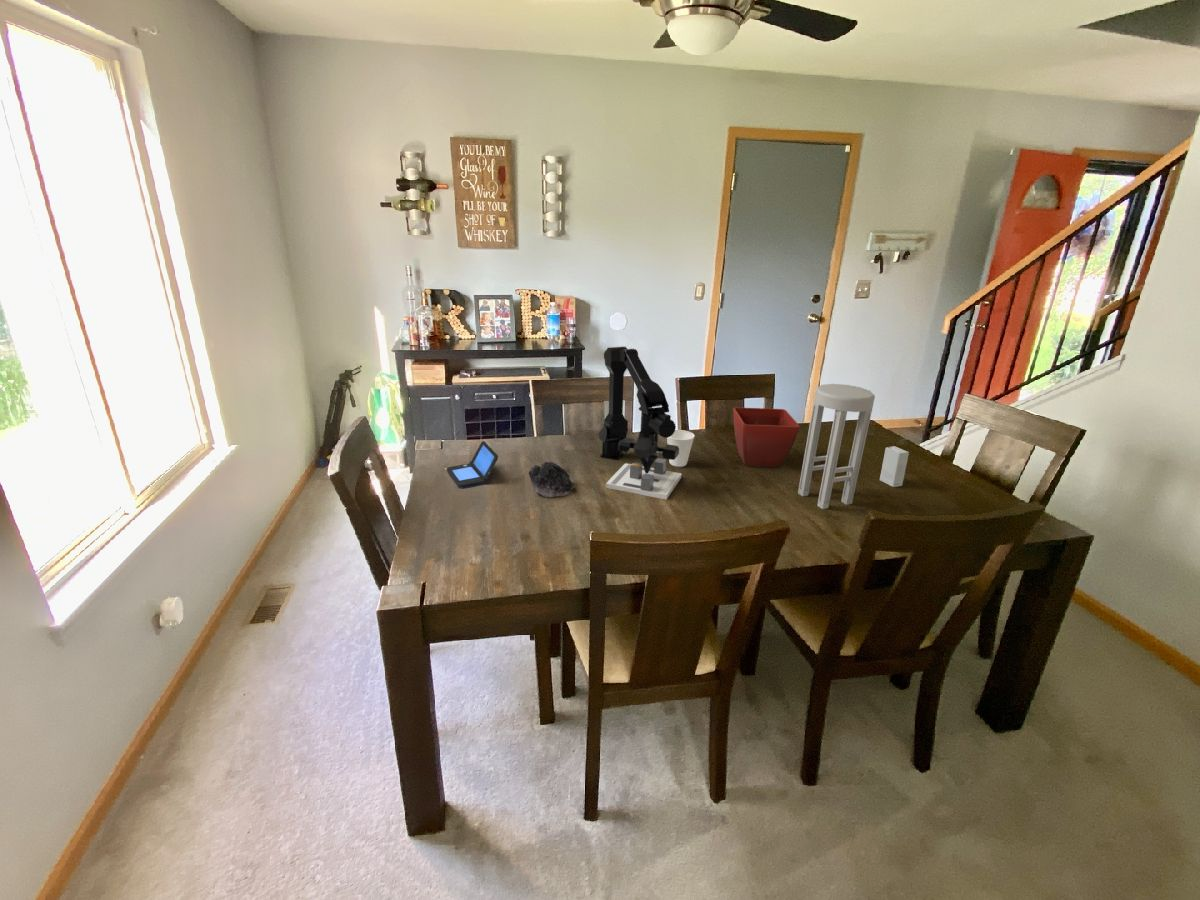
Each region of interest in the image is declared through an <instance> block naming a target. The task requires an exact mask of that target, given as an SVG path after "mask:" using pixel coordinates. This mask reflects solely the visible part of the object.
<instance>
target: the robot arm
mask: <svg viewBox="0 0 1200 900" xmlns="http://www.w3.org/2000/svg"><path fill="white" fill-rule="evenodd" d="M603 359H604V366H605V367H606V369H607V370H608V372H609V373H608V374H609V378H608V379H609V380H608V381H609V383H608V385H609V386H608V413H607V415H606V416H605V418H604V420H603V427H602V428H601V429H600V430H599V431H598V440H600V442H602V444H601V445H602V446H601V447H602V448H601V449H602V452H601V454H600V455H599V456H600V457H601V458H607V459H612V460H618V459H620V457H621V456H622V455H623V452H626V453H627V452H629V451H630V450H631V449H633V453H634V456H635V457H636V458H637V457H638V458H639V459H640V462H641V464H643V465H642V466H643V467H644V470H645V473H649V471H650V468H652V466H653V464H654V463H655V461H656V460H657V458H659V457H660V456H661V457H663V459H666V460H669V459H671V460H674V459H675V458H676V457H677V456H678V454H679V448H678V446H675V445H668V443H667V444H666V445H665V446H663V447H662V446H659V443H660V441H659V436H660V437H661V438H664V439H667V438H668V437H670V436H672V435H673V433H674V432H675V430H676V427H677V426H676V424H675V421H674V420H672V419H671V417H672V416H671V415H670V414H667V413H669V412H670V409H669V402H668V401H667V398H666V394H665V392H664V390H663V389H662V387H661V386H660V384H658V383H657V382H655V381H654V380H652V379H651V376H650V375H649V374H648V372H647V370H646V367H645V366H644V363H643V362H642V360H641V358H640V357H639V352H638V350H637V349H636V348H627V347H626V346H614V347H613V346H611V347H607V348H606V349H605V350H604V352H603ZM627 370H628V372H629V375H630V376H631V379H632V380H633V382H634V384H635V386H636V389H637V392H636V397H637V400H638V404H639V405H640V406H639V407H638V410H639V411H640V412H641V413H640V414H641V415H640V417H641V418H640V431H639V433H638V437H637V439H635V438H631V437H627V435H628V432H629V428H628V427H629V426H628V425H629V421H628V420H627V419H626V418H625V416H624V414H623V409H624V408H623V407H624V383H625V382H624V379H625V378H624V377H625V372H626V371H627Z"/></svg>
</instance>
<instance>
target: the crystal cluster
mask: <svg viewBox="0 0 1200 900" xmlns="http://www.w3.org/2000/svg"><path fill="white" fill-rule="evenodd" d="M528 476H529V478H530V479H529V480H530V483H531V486H532V488H533V490H535V492H536V493H537V494H539V495H541V496H543V497H547V498H554V497H562V496H567V495H569V494H570V492H571V491H572V489H573V482H572V481H571V479H570V474H568V471H566V469H564V468H563V467H561V466H560V465H558V464H557V463H555V462H553V461H543V462H542V464H541V466H540V465H536V464H535V465H533V466H532V467H531V468H530V469H529V471H528Z"/></svg>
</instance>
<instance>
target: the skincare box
mask: <svg viewBox="0 0 1200 900" xmlns="http://www.w3.org/2000/svg"><path fill="white" fill-rule="evenodd" d="M909 454H910V452H909V451H908V450H907V451H906V450H904V449H902V448H900V447H897V446H895V445H893V446H887V447H885V449H884V454H883V455H884V456H883V460H882V466H881V472H880V476H879V481H880V482H883V483H884V484H887V485H888V486H890V487H892V488H897V487H902V486H903V483H904V478H905V474H906V469H907V463H908V459H909Z"/></svg>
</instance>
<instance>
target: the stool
mask: <svg viewBox="0 0 1200 900" xmlns="http://www.w3.org/2000/svg"><path fill="white" fill-rule="evenodd" d="M875 397H876V395H875V394H874V393H873V392H872V391H871V390H869V389H866V388H863V387H861V386H855V385H849V384H842V383H841V384H840V383H827V384H821V385H819V386H818V387H816V389H815V392H814V398H813V404H812V409H811V415H810V421H809V427H808V433H807V437H806V443H805V444H806V445H805V449H804V455H803V460H802V461H803V462H802V467H801V472H800V479H799V485H798V489H797V490H798V491H797V494H798V495H800V496H801V497H806V496H809V494H810V487H811V482H812V477H813V476H812V475H813V472H815V471H822V470H823V471H822V472H823V473H822V478H821V483H820V484H821V485H820V489H819V494H818V500H817V505H816V506H817V507H819V508H820V509H822V510H825V509H829V505H830V501H831V497H832V496H831V495H832V490H833V485H834V483H838V482H844V485H843V489H842V495H841V500H840V503H843V504H844V505H845V506H849V505H852V504H853V501H854V495H855V492H856V488H857V483H858V477H859V473H860V468H861V463H862V458H863V454H864V450H865V449H864V448H865V445H866V440H867V435H868V431H869V426H870V421H871V417H872V413H873V407H874V402H875ZM825 408H826V409H830V410H834V415H833V421H832V426H831V431H830V436H829V441H828V446H827V452H826V455H820V456H816V454H817V448H818V445H819V444H818V443H819V439H820V438H819V437H820V434H821V433H820V432H821V427H822V422H823V421H822V420H823V415H824V411H825ZM848 412H852V413H858V418H857V420H856V421H857V422H856V427H855V431H854V435H853V441H852V447H851V451H850V457H849V460H848V465H845V466H840V467H837V465H838V460H839V455H840V450H841V445H842V439H843V436H844V429H845V426H846V420H847V416H848V415H847V414H848ZM821 461H822V462H823V461H825V463H824V464H819V465H814V464H815V462H821ZM845 472H846V475H841V476H836V474H839V473H845Z"/></svg>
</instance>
